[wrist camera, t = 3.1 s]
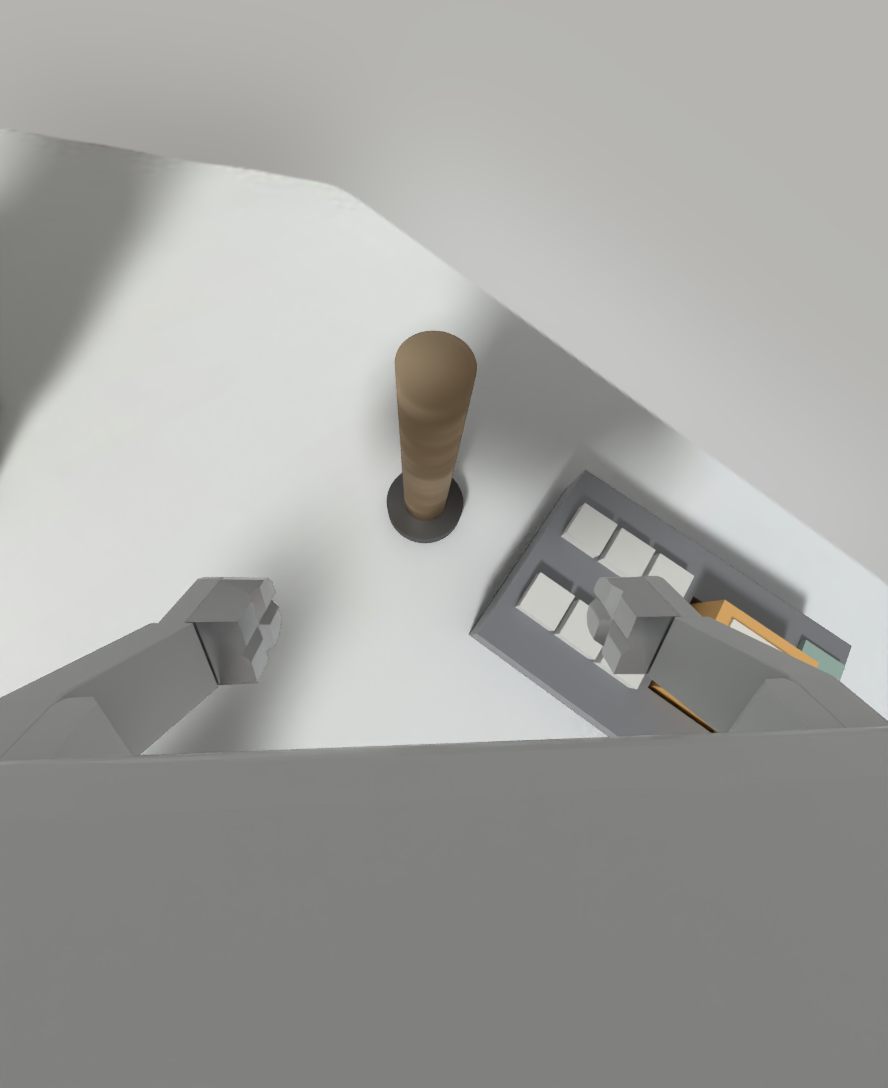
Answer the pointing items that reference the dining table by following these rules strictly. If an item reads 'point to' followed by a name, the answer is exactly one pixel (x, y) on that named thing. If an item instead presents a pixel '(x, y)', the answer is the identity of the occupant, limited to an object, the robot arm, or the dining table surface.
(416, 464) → the wooden post
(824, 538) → the dining table surface
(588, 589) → the key board
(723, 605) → the key
